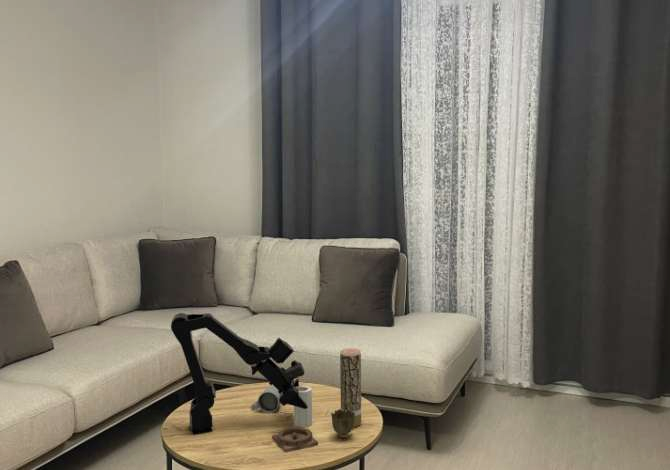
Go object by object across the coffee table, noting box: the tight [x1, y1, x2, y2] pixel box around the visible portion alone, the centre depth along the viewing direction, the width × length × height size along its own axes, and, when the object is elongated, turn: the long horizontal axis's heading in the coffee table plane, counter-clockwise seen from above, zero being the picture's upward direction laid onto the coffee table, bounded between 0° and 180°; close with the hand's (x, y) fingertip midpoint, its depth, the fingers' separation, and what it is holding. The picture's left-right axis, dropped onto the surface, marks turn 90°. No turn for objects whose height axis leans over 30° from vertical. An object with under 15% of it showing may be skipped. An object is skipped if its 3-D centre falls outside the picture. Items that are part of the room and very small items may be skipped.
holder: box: [271, 426, 319, 453], centre depth 212 cm, size 11×11×3 cm
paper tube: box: [339, 348, 362, 428], centre depth 224 cm, size 7×7×25 cm
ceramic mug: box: [251, 386, 281, 414], centre depth 240 cm, size 11×8×8 cm
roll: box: [293, 385, 313, 428], centre depth 226 cm, size 6×6×12 cm
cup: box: [330, 408, 355, 440], centre depth 215 cm, size 8×7×8 cm
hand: (306, 404), depth 226 cm, fingers closed on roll, 6 cm apart
